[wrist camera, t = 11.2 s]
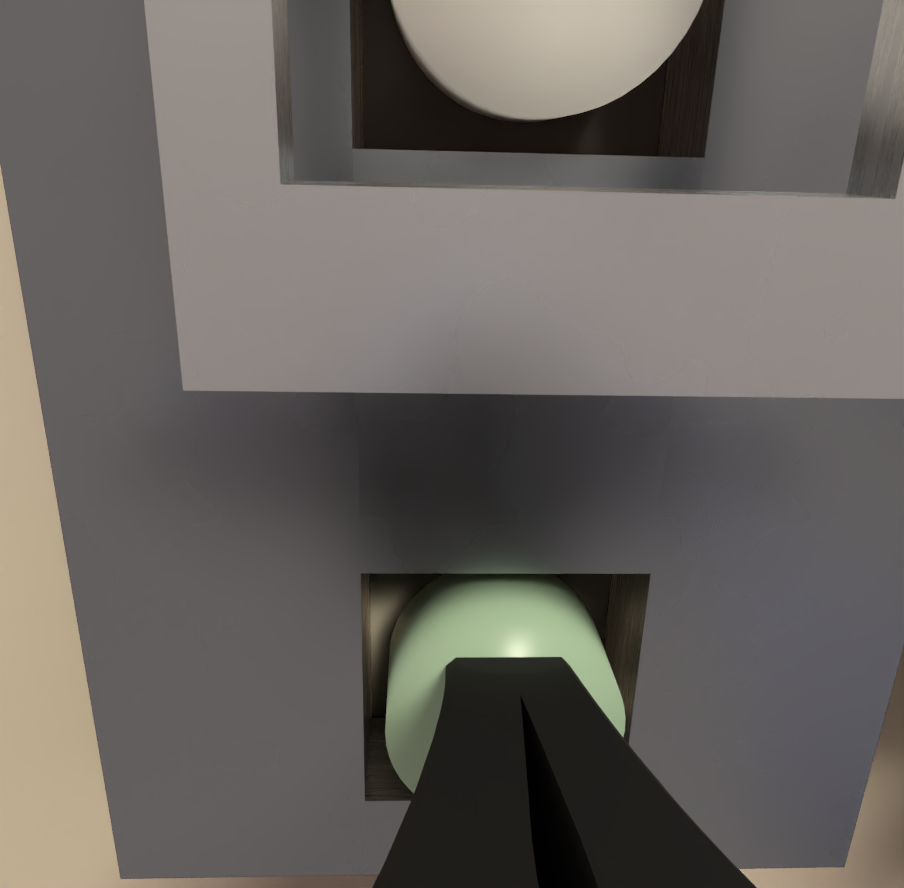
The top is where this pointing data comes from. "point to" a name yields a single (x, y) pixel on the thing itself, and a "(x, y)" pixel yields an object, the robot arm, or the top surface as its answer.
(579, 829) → the robot arm
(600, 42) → the button reset
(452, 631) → the button on
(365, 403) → the panel
